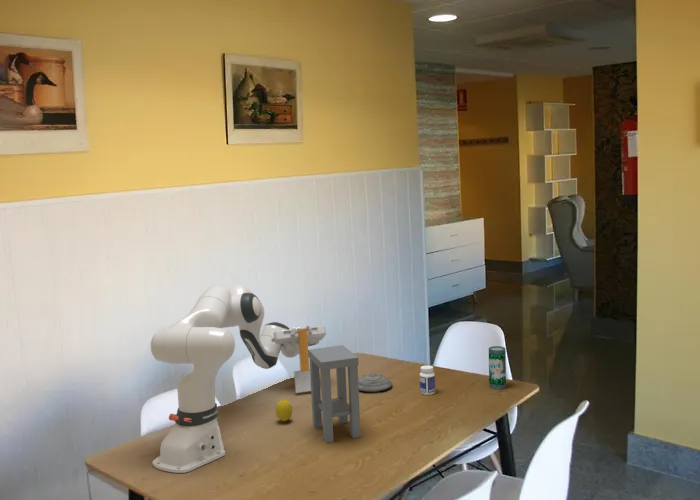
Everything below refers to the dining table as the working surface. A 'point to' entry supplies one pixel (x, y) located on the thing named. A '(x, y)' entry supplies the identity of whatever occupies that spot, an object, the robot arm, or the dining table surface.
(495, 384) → the can
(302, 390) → the turner
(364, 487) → the dining table surface
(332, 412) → the stool
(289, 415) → the lemon
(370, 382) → the flying saucer
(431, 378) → the pill bottle
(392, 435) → the dining table surface
